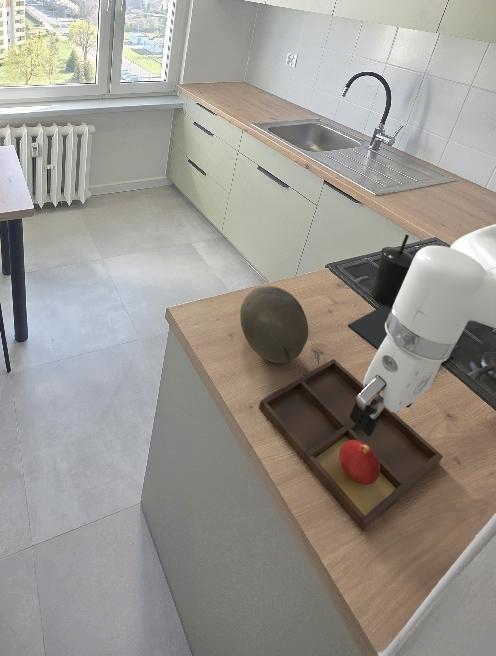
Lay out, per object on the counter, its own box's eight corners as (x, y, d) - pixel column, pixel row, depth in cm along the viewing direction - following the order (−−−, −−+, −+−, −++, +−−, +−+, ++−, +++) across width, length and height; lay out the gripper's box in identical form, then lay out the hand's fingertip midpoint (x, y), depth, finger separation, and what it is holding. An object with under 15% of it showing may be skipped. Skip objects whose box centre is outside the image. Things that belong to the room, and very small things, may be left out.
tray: (438, 463, 73) (443, 456, 72) (362, 531, 64) (366, 524, 63) (331, 365, 90) (333, 358, 89) (258, 407, 81) (260, 400, 80)
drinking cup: (394, 314, 104) (421, 249, 96) (361, 296, 109) (384, 234, 101) (403, 299, 109) (429, 236, 101) (371, 283, 114) (394, 222, 106)
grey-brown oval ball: (305, 342, 95) (321, 291, 89) (292, 389, 84) (309, 336, 78) (244, 314, 102) (255, 265, 96) (225, 355, 91) (235, 303, 85)
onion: (344, 449, 74) (357, 420, 71) (378, 479, 70) (393, 450, 66) (327, 470, 71) (340, 441, 67) (362, 503, 67) (377, 473, 63)
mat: (453, 356, 93) (454, 354, 93) (417, 381, 87) (418, 379, 87) (382, 307, 106) (383, 305, 106) (347, 326, 100) (348, 324, 100)
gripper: (412, 378, 50) (368, 464, 57) (483, 329, 57) (437, 410, 64) (354, 332, 56) (321, 414, 63) (425, 293, 64) (389, 370, 70)
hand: (379, 412), depth 64 cm, fingers open, 9 cm apart
